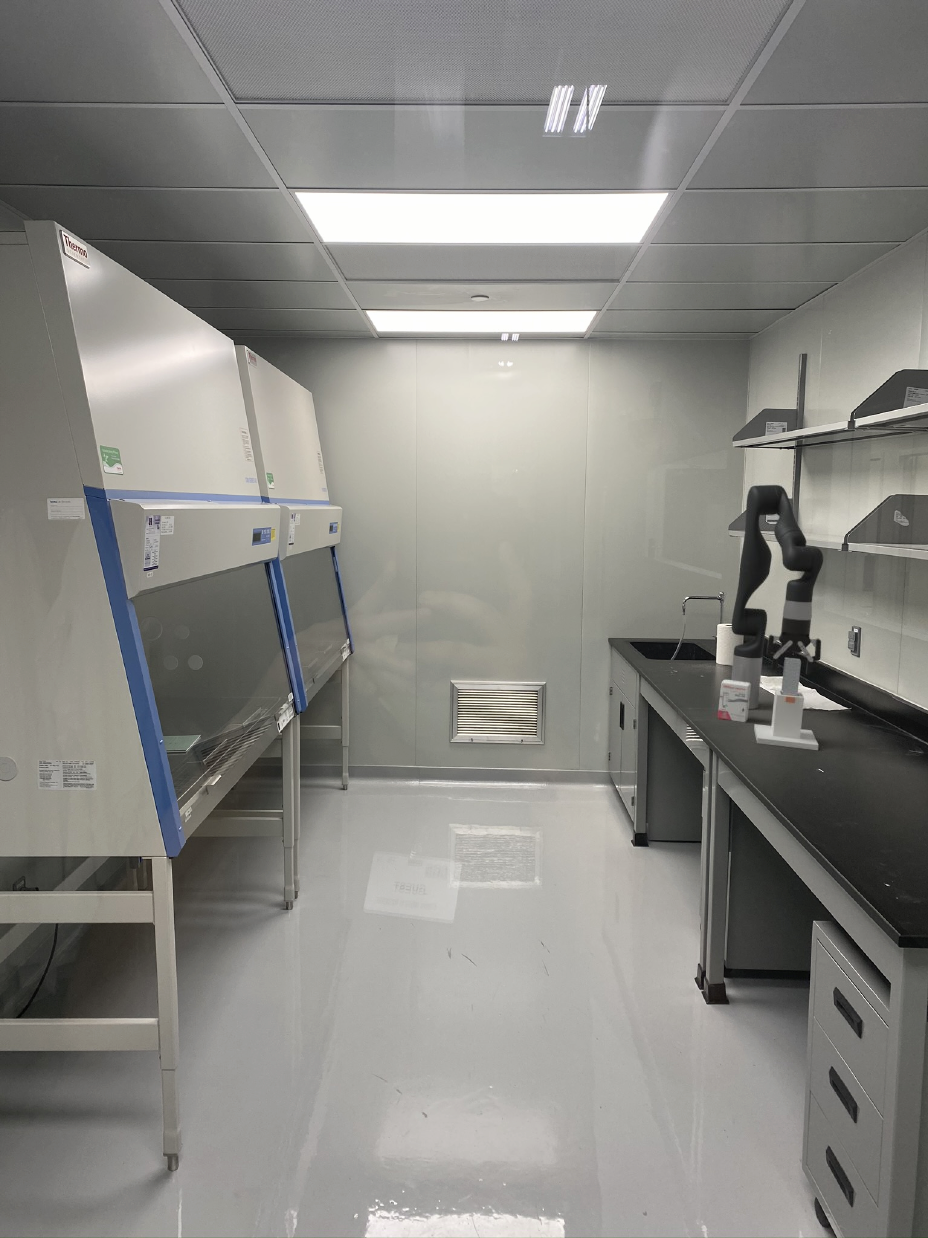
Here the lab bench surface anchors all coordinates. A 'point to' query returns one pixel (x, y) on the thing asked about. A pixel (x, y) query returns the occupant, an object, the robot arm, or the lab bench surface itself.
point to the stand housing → (786, 724)
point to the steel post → (791, 676)
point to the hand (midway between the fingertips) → (791, 672)
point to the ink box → (734, 700)
